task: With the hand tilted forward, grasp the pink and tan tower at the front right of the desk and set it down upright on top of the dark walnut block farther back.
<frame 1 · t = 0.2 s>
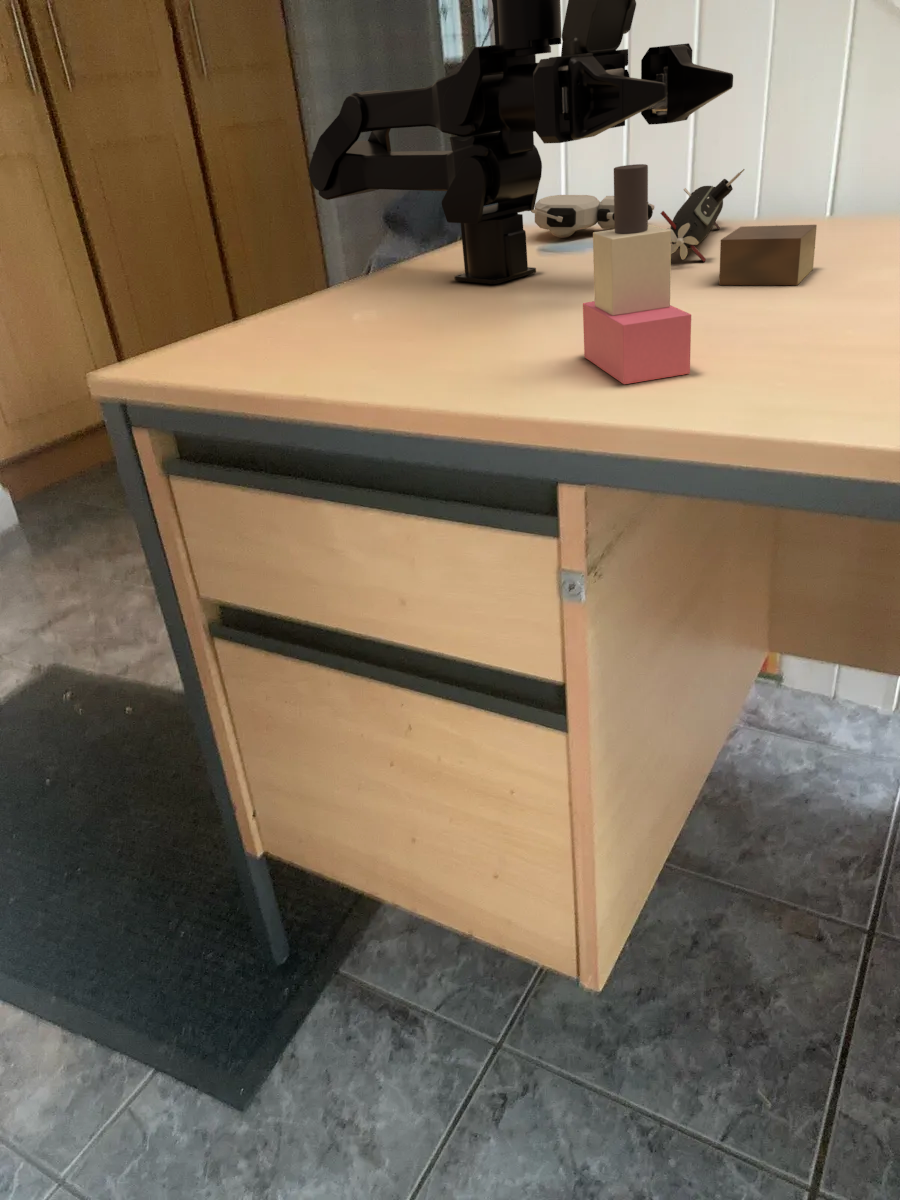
hand: (699, 85, 76), 17 cm above the table, tool horizontal, fingers open, 9 cm apart
robot toy: (593, 234, 121), on the table
pink and tan tower: (634, 365, 67), on the table
submarine model: (703, 243, 108), on the table
block: (766, 277, 88), on the table
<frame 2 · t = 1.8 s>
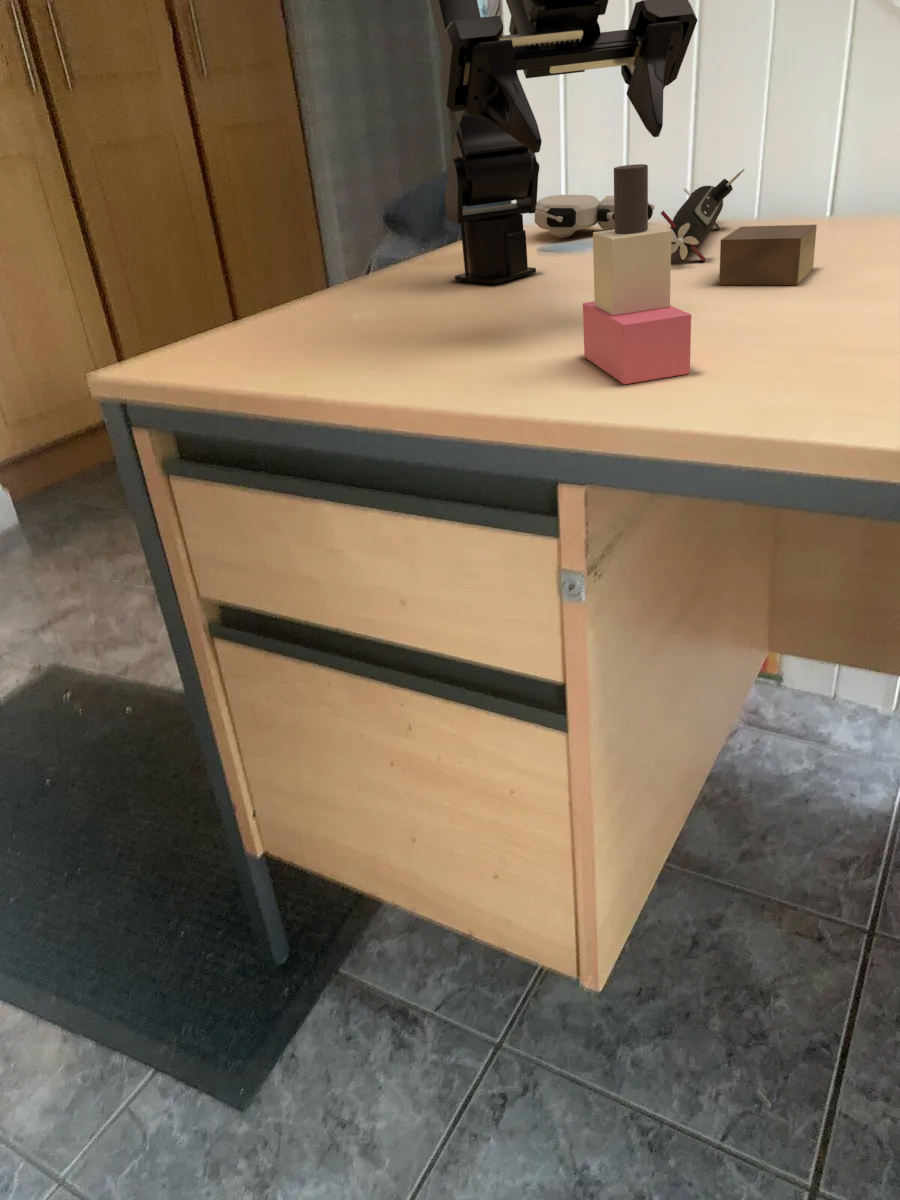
hand: (598, 139, 68), 14 cm above the table, tool tilted 45°, fingers open, 9 cm apart
nothing on the table moved.
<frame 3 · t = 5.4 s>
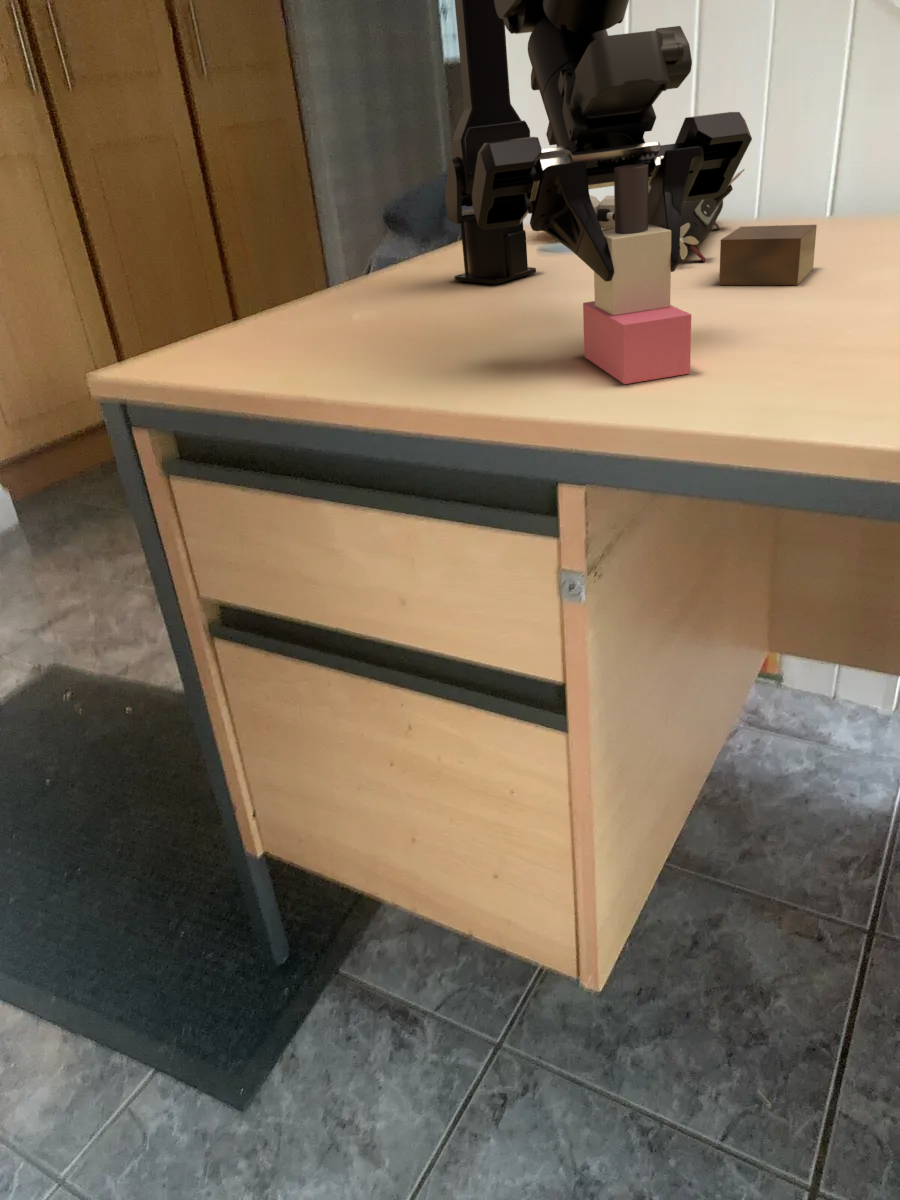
hand: (642, 272, 63), 7 cm above the table, tool tilted 45°, fingers closed on pink and tan tower, 4 cm apart
pink and tan tower: (634, 365, 67), on the table, touching gripper
everything else where it was.
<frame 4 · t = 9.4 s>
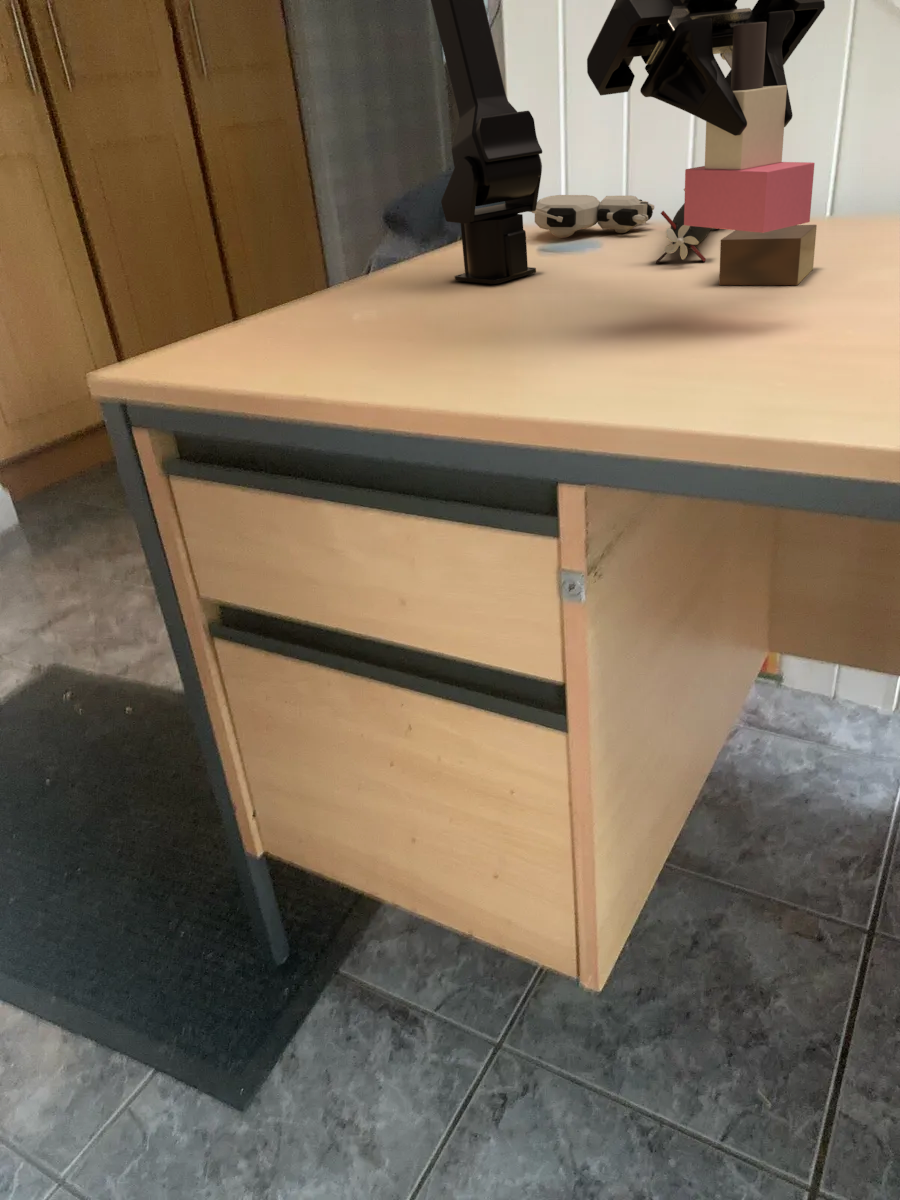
hand: (764, 126, 67), 14 cm above the table, tool tilted 45°, fingers closed on pink and tan tower, 4 cm apart
pink and tan tower: (744, 223, 71), point 7 cm above the table, touching gripper
everything else where it was.
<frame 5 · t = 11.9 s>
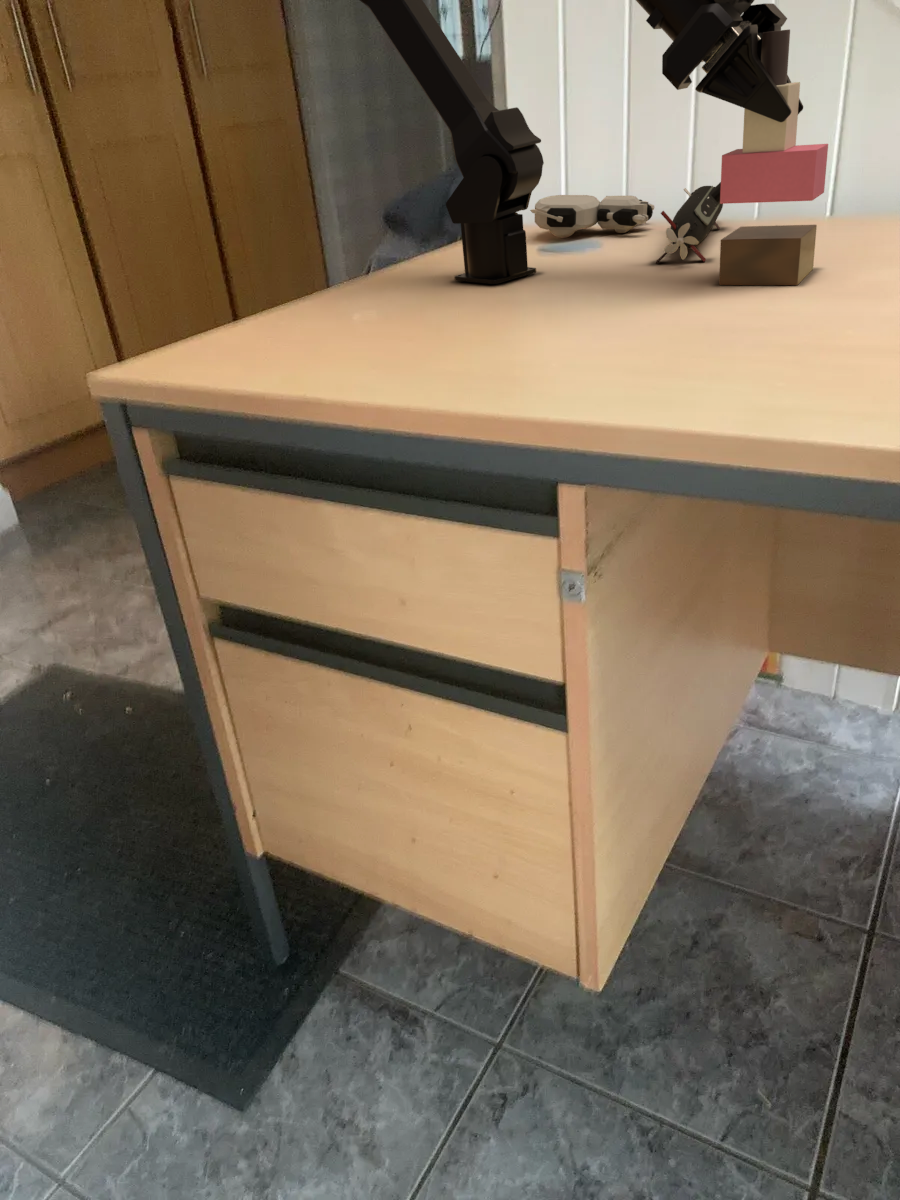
hand: (793, 115, 81), 13 cm above the table, tool tilted 45°, fingers closed on pink and tan tower, 4 cm apart
pink and tan tower: (771, 198, 85), point 7 cm above the table, touching gripper
everything else where it was.
when the fingers open (11 cm above the table, at t = 13.6 s): pink and tan tower stays where it is, resting on block.
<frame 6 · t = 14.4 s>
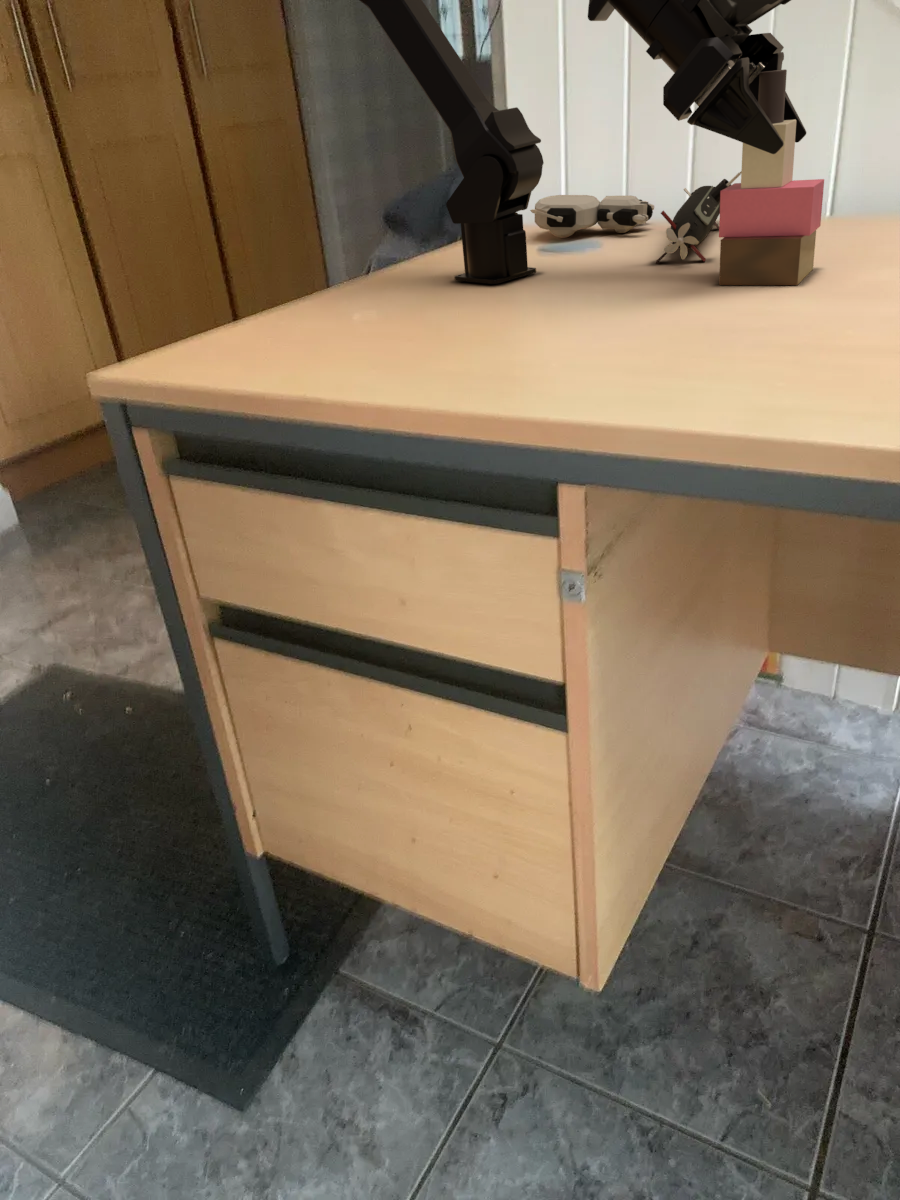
hand: (791, 143, 82), 11 cm above the table, tool tilted 45°, fingers open, 9 cm apart
pink and tan tower: (769, 231, 86), point 4 cm above the table, touching block
everything else where it was.
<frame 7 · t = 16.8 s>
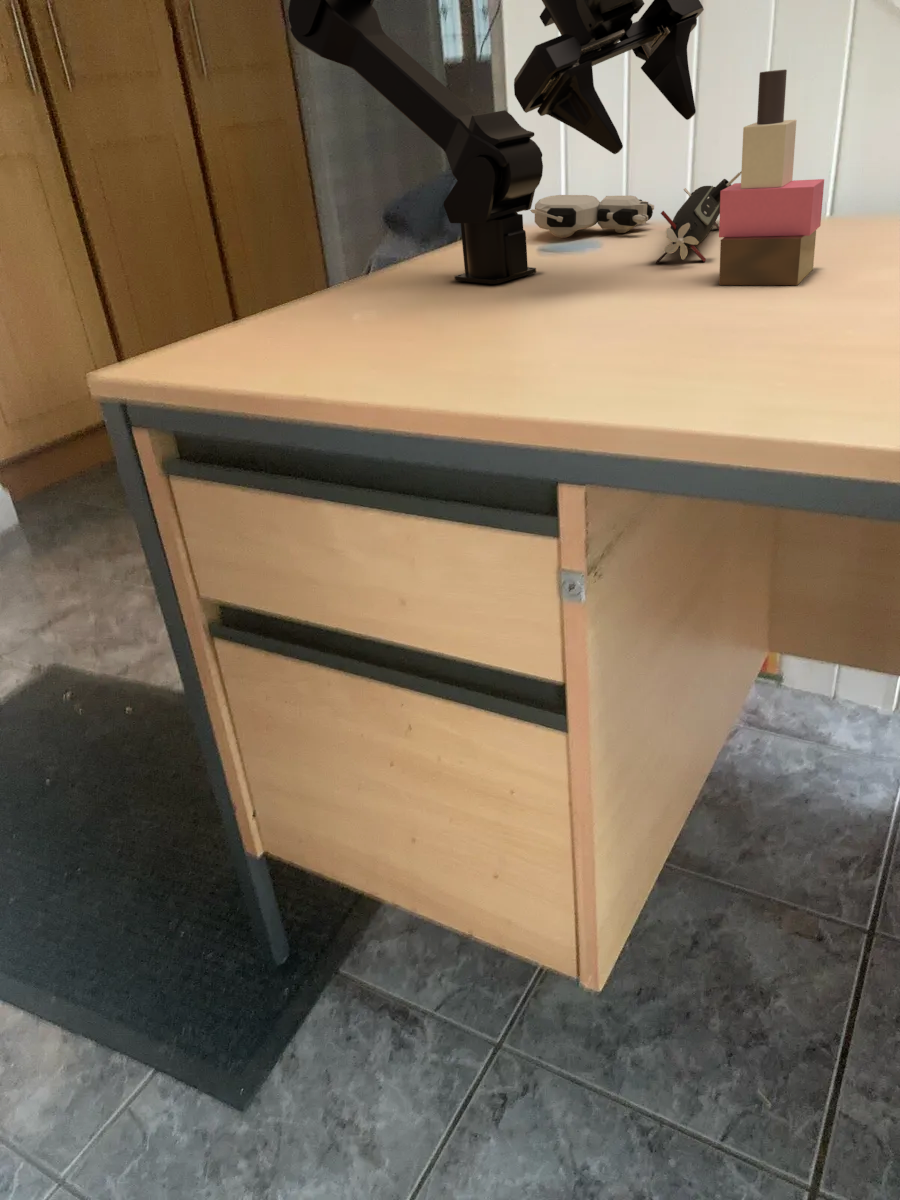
hand: (656, 133, 84), 13 cm above the table, tool tilted 35°, fingers open, 9 cm apart
nothing on the table moved.
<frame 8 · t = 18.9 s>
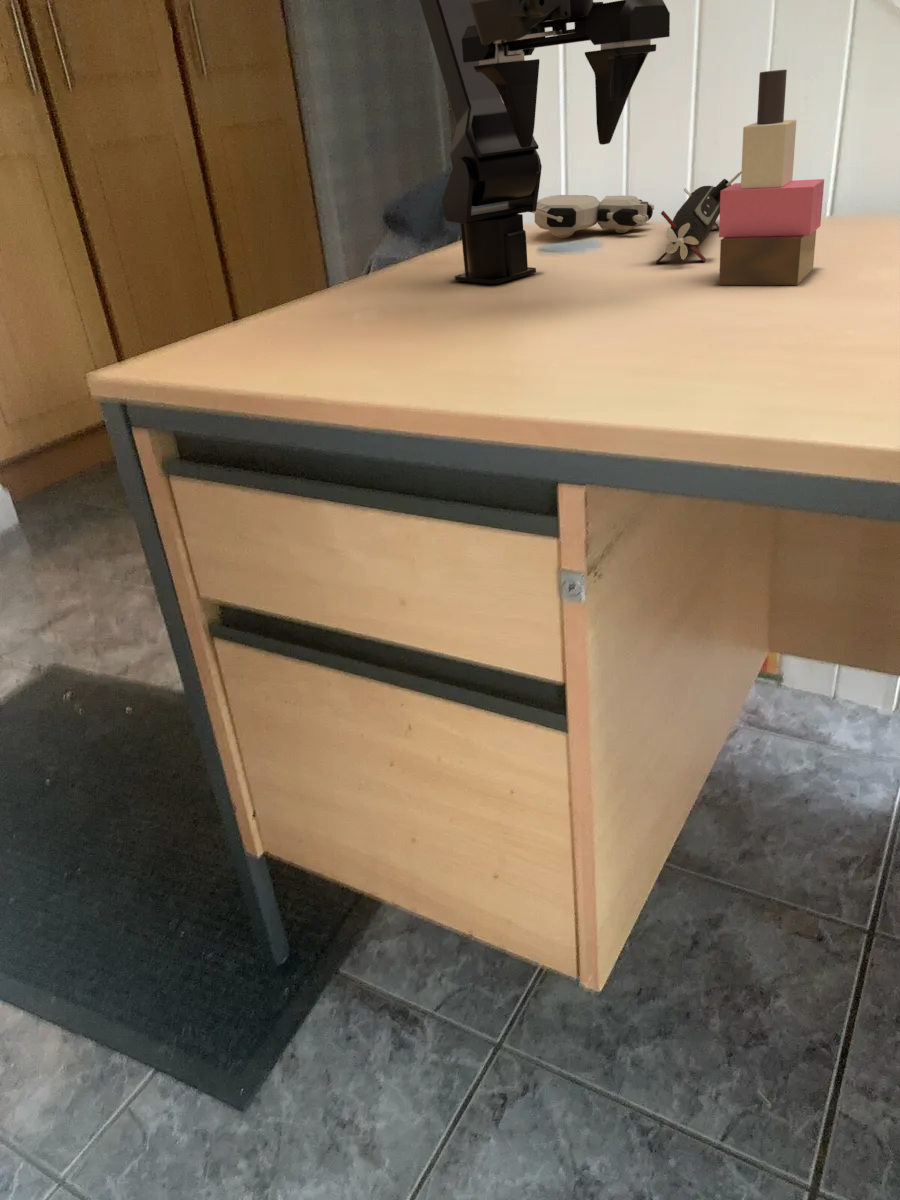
hand: (563, 145, 83), 13 cm above the table, tool pointing down, fingers open, 9 cm apart
nothing on the table moved.
at the end: pink and tan tower 0.0 cm off-centre on the block, point 4.0 cm above the block's base; pink and tan tower tilted 0° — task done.
